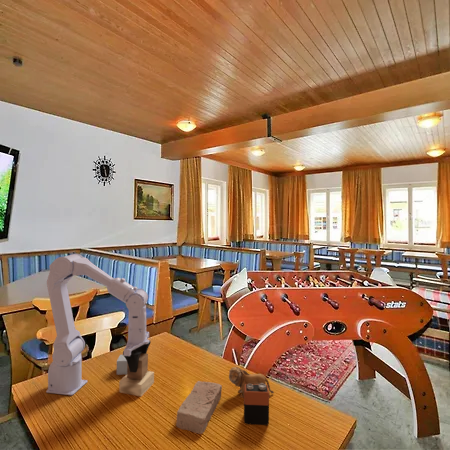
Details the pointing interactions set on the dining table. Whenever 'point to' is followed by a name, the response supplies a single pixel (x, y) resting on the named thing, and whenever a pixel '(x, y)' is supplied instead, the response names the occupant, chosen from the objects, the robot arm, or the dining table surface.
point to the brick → (199, 407)
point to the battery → (256, 404)
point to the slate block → (121, 365)
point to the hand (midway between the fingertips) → (137, 367)
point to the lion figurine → (246, 379)
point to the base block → (136, 384)
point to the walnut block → (139, 367)
